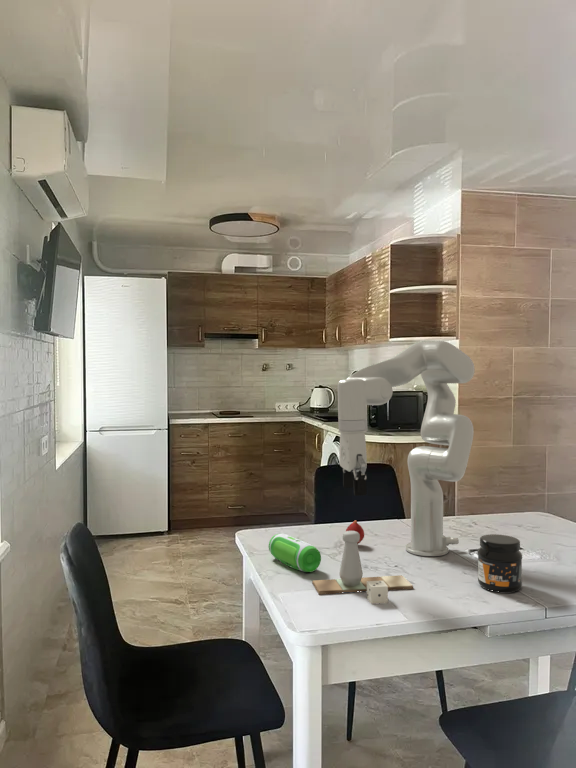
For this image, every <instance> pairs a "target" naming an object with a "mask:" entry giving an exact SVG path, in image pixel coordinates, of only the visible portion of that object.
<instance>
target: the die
mask: <svg viewBox="0 0 576 768" xmlns="http://www.w3.org/2000/svg"><path fill="white" fill-rule="evenodd" d="M388 596H389V590H388V586H387V585H386V584H385V582H384V581H367V592H366V598H367V600H368V602H369V603H370V605H374V604H375V605H376V604H378V605H379V603H380V604H388V603H389V597H388Z"/></svg>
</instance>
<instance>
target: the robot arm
mask: <svg viewBox="0 0 576 768" xmlns="http://www.w3.org/2000/svg"><path fill="white" fill-rule="evenodd" d="M419 375H420V376H421V379H422V381H423V384H424V386H425V388H426V392H427V401H426V402H427V403H426V407H425V411H424V414H423V419H422V422H421V426H420V437H421V439H422V441H424V442H426V443H428V444H432V445H438V447H437V446H427V445H423V446H416V447H414V448H413V449H411V450H410V451H409V453H408V454H407V469H408V472H409V473H408V474H409V479H410V480H409V481H410V542H408V543H406V545H405V550H406V551H407V553H410V554H412V555H415V556H420V557H421V556H422V557H441V556H444V555H447V554H448V553H449V546H450V545H459V543H460V541H459V538H458V537H451V536H446V535H444V492H443V489H442V486H441V484H440V482H439V481H444V482H453V483H454V482H459V481H460V480H462V479H463V477H464V476H465V473H466V469H467V467H468V463H469V458H470V454H471V450H472V449H471V448H472V446H473V445H472V444H473V441H474V440H473V439H474V434H475V433H474V432H475V429H474V424H473V422H472V420H471V419H470V418H469V416H467V415H464V414H458V413H457V414H456V413H455V410H456V404H457V401H456V397H455V395H454V392H453V391H452V390H451V388H450V387H449V384H467V383H469V382H470V381H471V380H472V379H473V377H474V375H475V364H474V361H473V360H472V358H471V357H470V356H469V355H468V354H466V353H465V352H464V351H462V350H461V349H459V348H458V347H457V346H455V345H453V344H452V343H450V342H447V341H446V340H436V341H435V340H431V341H429V340H428V341H419V342H418V341H417V342H414V343H413V344H411V345H409V346H408V347H406V348H405V349H404V350H401V351H400V352H399V353H397V354H396V355H394V356H392V357H390V358H388V359H384V360H382V361H380V362H376V363H375V364H374V363H373V364H371V365H367V366H365V367H362V368H361V369H359V370H357V371H355V372H354V373H352V374H351V375H349V376H348V377H347V378H346V379H340V380H339V381H338V383H337V410H338V411H337V414H338V415H337V418H338V433H339V458H338V459H339V466H340V467H341V468H342V486H343V488H346V489H347V488H348V489H349V488H353V495H354V496H358V497H359V496H366V495H367V466H368V465H367V463H368V457H367V455H368V454H367V444H366V443H367V442H366V441H367V440H366V436H365V435H366V433H367V432H368V406H382V405H384V404H386V403H388V402H389V401H390V400H391V398H392V397H393V393H394V391H393V388H395V387H399V386H404V385H407V384H408V383H410V382H411V381H413V380H414V379H415V378H417V377H418V376H419ZM439 445H440V446H448V448H446V447H439Z"/></svg>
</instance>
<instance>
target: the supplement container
mask: <svg viewBox="0 0 576 768" xmlns="http://www.w3.org/2000/svg"><path fill="white" fill-rule="evenodd" d="M479 546H480V547H479V548H478V550H477V556H478V558H477V563H478V564H477V565H478V567H477V568H478V569H477V570H478V571H477V573H478V576H477V582H478V585H480V586H481V587H482V588H483V587H484V588H483V589H485V588H486V590H487V589H489V590H488V591H490V590H493V591H492V592H494V591H499V592H498V593H500V592H512V593H515V591H516V592H518V591H519V590H521V588H522V586H523V581H522V580H523V579H522V578H523V577H522V576H523V574H522V573H523V569H522V568H523V566H522V565H523V564H522V562H523V561H522V560H523V553H522V552H521V551H520V550H521V541H520V540H519V539H518V538H517V537H515V536H511V535H506V534H497V533H495V534H492V533H491V534H485V535H481V536H480V537H479Z"/></svg>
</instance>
